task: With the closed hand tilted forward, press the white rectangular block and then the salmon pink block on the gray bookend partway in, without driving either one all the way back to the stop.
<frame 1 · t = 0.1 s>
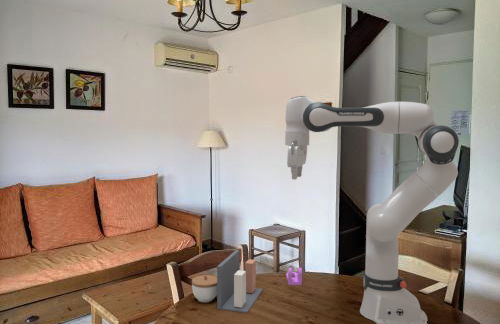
hand: (296, 178, 149), 48 cm above the table, tool pointing down, fingers open, 8 cm apart
salmon pink block: (250, 275, 162), point 7 cm above the table, slide at 0.0 cm
bracket: (293, 280, 178), on the table
lidded jar: (205, 299, 156), on the table
gray bookend: (241, 299, 156), on the table
white rectangular block: (240, 288, 148), point 7 cm above the table, slide at 0.0 cm
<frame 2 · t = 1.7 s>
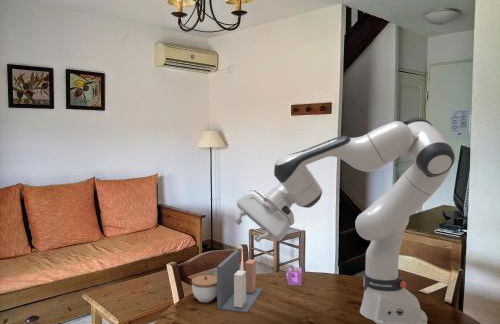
hand: (246, 231, 132), 32 cm above the table, tool tilted 55°, fingers open, 8 cm apart
nothing on the table moved.
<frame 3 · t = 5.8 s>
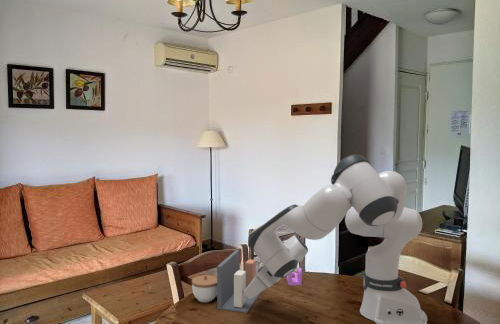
hand: (245, 293, 148), 5 cm above the table, tool tilted 45°, fingers closed, pressing on white rectangular block
white rectangular block: (239, 288, 148), point 7 cm above the table, slide at 0.1 cm, touching gripper
everything else where it was.
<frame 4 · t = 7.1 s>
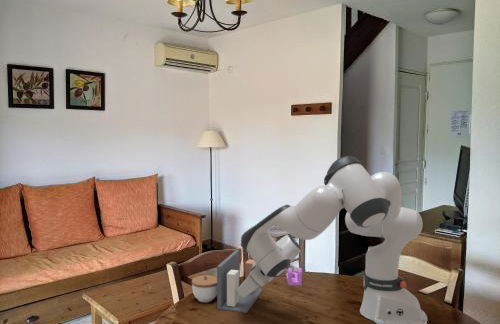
hand: (238, 292, 149), 5 cm above the table, tool tilted 45°, fingers closed
white rectangular block: (232, 287, 149), point 7 cm above the table, slide at 2.8 cm
everything else where it was.
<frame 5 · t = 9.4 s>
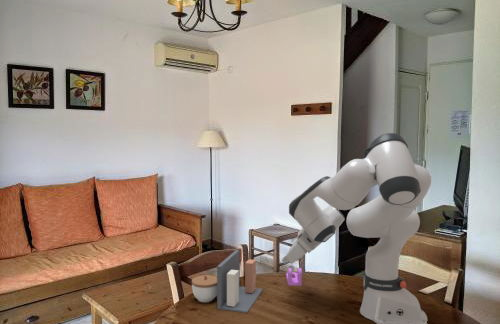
hand: (283, 260, 157), 15 cm above the table, tool tilted 45°, fingers closed
nothing on the table moved.
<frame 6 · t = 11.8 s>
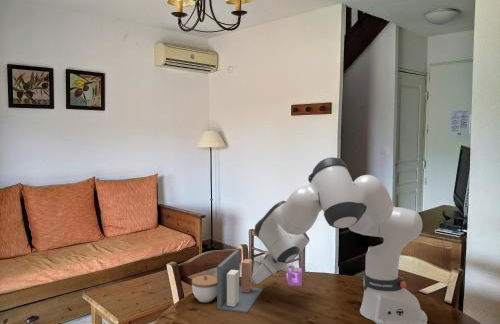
hand: (251, 280, 161), 5 cm above the table, tool tilted 45°, fingers closed, pressing on salmon pink block
salmon pink block: (246, 275, 162), point 7 cm above the table, slide at 1.5 cm, touching gripper
everything else where it was.
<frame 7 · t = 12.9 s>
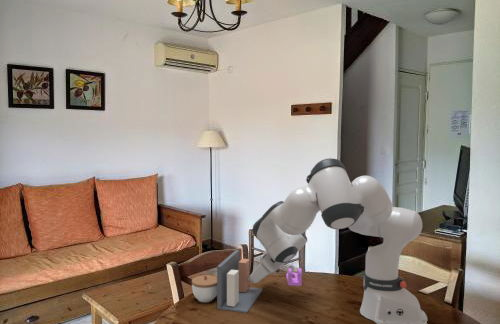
hand: (250, 279, 162), 5 cm above the table, tool tilted 45°, fingers closed
salmon pink block: (244, 275, 163), point 7 cm above the table, slide at 2.8 cm
everything else where it was.
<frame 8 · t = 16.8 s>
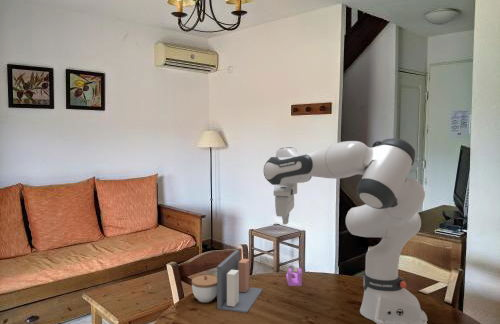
hand: (285, 223, 157), 29 cm above the table, tool pointing down, fingers closed
nothing on the table moved.
at the end: white rectangular block slide at 2.8 cm; salmon pink block slide at 2.8 cm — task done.
